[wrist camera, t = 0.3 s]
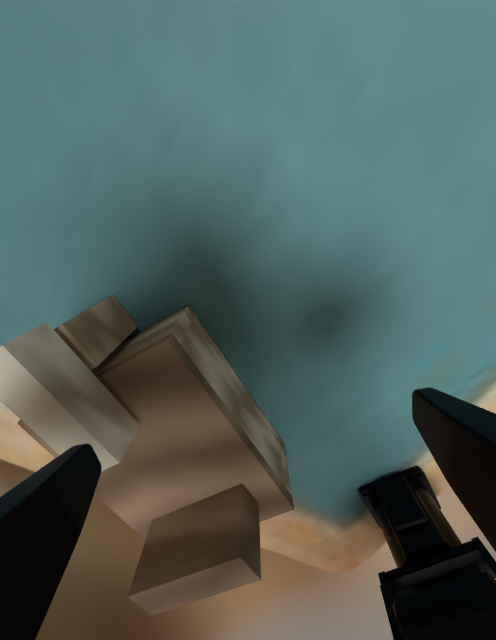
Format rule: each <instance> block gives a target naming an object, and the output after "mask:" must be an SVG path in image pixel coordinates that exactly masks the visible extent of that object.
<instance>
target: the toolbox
mask: <svg viewBox="0 0 496 640" xmlns="http://www.w3.org/2000/svg"><path fill="white" fill-rule="evenodd" d="M137 327H138V326H137V324H136V323H135V322H134V321H133V319H132V318H131V317H130V316H129V314H128V313H127V312H126V310H125V309H124V308H123V307H122V305H121V304H120V303H119V301H118V300H117V299H116V298H115V296H114V295H112V296H111V297H109V298H107V299H105V300H104V301H102V302H100V303H98V304H97V305H95V306H93V307H91V308H90V309H88V310H86V311H84V312H83V313H81V314H79V315H77V316H76V317H74V318H72V319H70V320H69V321H67V322H65V323H63V324H62V325H60V326H59V327H57V328H55V329H54V331H55V332H56V333H57V334H58V335H59V336H60V337H61V338H62V340H63V341H64V342H65V343H66V344H67V345H68V346H69V347H70V348H71V350H72V351H73V352H74V353H75V354H76V355H77V356H78V357H79V358H80V360H81V361H82V362H83V363H84V364H85V365H86V366H87V367H88V368H89V369H90V371H91V372H92V373H93V374H94V375H97V374H99V373H101V372H103V371H104V370H106V369H108V368H110V367H112V366H113V365H115V364H117V363H119V362H120V361H122V360H124V359H126V358H128V357H129V356H131V355H133V354H135V353H137V352H138V351H140V350H142V349H144V348H145V347H147V346H149V345H151V344H153V343H154V342H156V341H158V340H160V339H162V338H163V337H165V336H167V335H169V334H171V333H173V335H174V336H175V337H176V339H177V340H178V342H179V343H180V344H181V346H182V347H183V348H184V350H185V351H186V352H187V354H188V355H189V357H190V358H191V359H192V361H193V362H194V363H195V365H196V366H197V367H198V369H199V370H200V371H201V373H202V374H203V376H204V377H205V378H206V380H207V381H208V382H209V384H210V385H211V386H212V388H213V389H214V391H215V392H216V393H217V395H218V396H219V397H220V399H221V400H222V401H223V403H224V404H225V405H226V407H227V408H228V410H229V411H230V412H231V414H232V415H233V416H234V418H235V419H236V420H237V422H238V423H239V425H240V426H241V427H242V429H243V430H244V431H245V433H246V434H247V435H248V437H249V438H250V439H251V441H252V442H253V444H254V445H255V446H256V448H257V449H258V450H259V452H260V453H261V454H262V456H263V457H264V459H265V460H266V461H267V463H268V464H269V465H270V467H271V468H272V469H273V471H274V472H275V473H276V475H277V476H278V478H279V479H280V480H281V482H282V483H283V484H284V486H285V487H286V488H287V490H288V491H289V493H290V494H291V487H290V480H289V473H288V466H287V460H286V453H285V446H284V443H283V442H282V440H281V439H280V437H279V436H278V434H277V433H276V431H275V430H274V428H273V427H272V426H271V424H270V423H269V421H268V420H267V418H266V417H265V415H264V414H263V412H262V411H261V410H260V408H259V407H258V405H257V404H256V402H255V401H254V399H253V398H252V397H251V395H250V394H249V392H248V391H247V389H246V388H245V386H244V385H243V383H242V382H241V381H240V379H239V378H238V376H237V375H236V373H235V372H234V370H233V369H232V367H231V366H230V365H229V363H228V362H227V360H226V359H225V357H224V356H223V354H222V353H221V352H220V350H219V349H218V347H217V346H216V344H215V343H214V341H213V340H212V338H211V337H210V336H209V334H208V333H207V331H206V330H205V328H204V327H203V325H202V324H201V323H200V321H199V320H198V318H197V317H196V315H195V314H194V312H193V311H192V309H191V308H190V307H189V305H187V306H185V307H183V308H182V309H180V310H178V311H176V312H175V313H173V314H171V315H170V316H168V317H166V318H164V319H163V320H161V321H159V322H157V323H156V324H154V325H152V326H151V327H149V328H147V329H145V330H144V331H142V332H140V333H138V334H137V335H135V336H133V337H132V338H130V339H128V340H126V341H125V342H123V341H124V340H125V339H126V338H127V337H128V336H129V335H130V334H131V333H132V332H133V331H134V330H135V329H136V328H137ZM122 342H123V343H122ZM291 495H292V494H291Z"/></svg>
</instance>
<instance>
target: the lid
mask: <svg viewBox="0 0 496 640" xmlns="http://www.w3.org/2000/svg"><path fill="white" fill-rule="evenodd" d="M95 376H96V377H97V378H98V379H99V381H100V382H101V383H102V384H103V385H104V386H105V387H106V388H107V389H108V391H109V392H110V393H111V394H112V395H113V396H114V397H115V398H116V399H117V401H118V402H119V403H120V404H121V405H122V406H123V407H124V408H125V409H126V411H127V412H128V413H129V414H130V415H131V416H132V417H133V418H134V419H135V420H136V422H137V423H138V424H139V427H138V429H137V431H136V433H135V435H134V437H133V439H132V440H131V442H130V444H129V446H128V448H127V450H126V452H125V454H124V456H123V457H122V459H121V461H120V463H118V464H116V465H114V466H112V467H110V468H108V469H106V470H104V471H102V472H101V475H100V478H99V481H98V484H97V487H96V490H95V493H94V494H95V495H96V496H97V497H98V498H100V499H101V500H102V501H103V502H104V503H105V504H106V505H107V506H108V507H109V508H111V509H112V510H113V511H114V512H115V513H116V514H117V515H118V516H119V517H120V518H121V519H123V520H124V521H125V522H126V523H127V524H128V525H129V526H130V527H131V528H132V529H134V530H135V531H136V532H137V533H138V534H139V535H140V536H141V537H142V538H143V539H144V540H145V544H144V547H143V550H142V554H141V557H140V560H139V563H138V566H137V569H136V572H135V576H134V578H133V581H132V585H131V587H130V591H129V594H128V597H129V598H130V599H131V600H132V601H134V602H135V603H136V604H138V605H139V606H140V607H141V608H143V609H144V610H145V611H146V612H148V613H149V614H150V615H154V614H157V613H160V612H163V611H166V610H170V609H173V608H176V607H178V606H182V605H185V604H188V603H191V602H194V601H197V600H200V599H203V598H206V597H209V596H213V595H216V594H219V593H222V592H225V591H228V590H231V589H234V588H237V587H240V586H243V585H246V584H249V583H252V582H255V581H259V580H261V564H260V528H259V522H261V521H263V520H266V519H269V518H271V517H274V516H277V515H280V514H282V513H285V512H288V511H290V510H293V509H294V505H293V498H292V495H291V494H290V493H289V491H288V490H287V488H286V487H285V486H284V484H283V483H282V482H281V480H280V479H279V478H278V476H277V475H276V473H275V472H274V471H273V469H272V468H271V467H270V465H269V464H268V463H267V461H266V460H265V459H264V457H263V456H262V454H261V453H260V452H259V450H258V449H257V448H256V446H255V445H254V444H253V442H252V441H251V439H250V438H249V437H248V435H247V434H246V433H245V431H244V430H243V429H242V427H241V426H240V425H239V423H238V422H237V420H236V419H235V418H234V416H233V415H232V414H231V412H230V411H229V410H228V408H227V407H226V405H225V404H224V403H223V401H222V400H221V399H220V397H219V396H218V395H217V393H216V392H215V391H214V389H213V388H212V386H211V385H210V384H209V382H208V381H207V380H206V378H205V377H204V376H203V374H202V373H201V371H200V370H199V369H198V367H197V366H196V365H195V363H194V362H193V361H192V359H191V358H190V357H189V355H188V354H187V352H186V351H185V350H184V348H183V347H182V346H181V344H180V343H179V342H178V340H177V339H176V337H175V336H174V335H173V333H171V334H169V335H167V336H165V337H163V338H162V339H160V340H158V341H156V342H154V343H153V344H151V345H149V346H147V347H145V348H144V349H142V350H140V351H138V352H137V353H135V354H133V355H131V356H129V357H128V358H126V359H124V360H122V361H120V362H119V363H117V364H115V365H113V366H112V367H110V368H108V369H106V370H104V371H103V372H101V373H99V374H97V375H95ZM18 424H19V425H20V426H21V427H22V428H23V429H24V430H25V431H26V432H27V433H28V434H30V435H31V436H32V437H33V438H34V439H35V440H36V441H37V442H38V443H39V444H40V445H42V446H43V447H44V448H45V449H46V450H47V451H48V452H49V453H50V454H51V455H53V456H54V457H55V458H57V457H58V456H59V454H58V453H57V452H56V451H55V450H53V449H52V448H51V447H50V446H49V445H48V444H47V443H46V442H45V441H44V440H43V439H42V438H40V437H39V436H38V435H37V434H36V433H35V432H34V431H33V430H32V429H31V428H30V427H29V426H27V425H26V424H25V423H24V422H23V421H22V420H20V421H19V422H18Z"/></svg>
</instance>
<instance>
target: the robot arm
mask: <svg viewBox="0 0 496 640" xmlns="http://www.w3.org/2000/svg"><path fill="white" fill-rule="evenodd" d="M412 415H413V420H414V423H415V425H416V427H417V429H418V431H419V432H420V434H421V436H422V438H423V439H424V441H425V443H426V445H427V447H428V448H429V450H430V452H431V454H432V455H433V457H434V459H435V461H436V463H437V464H438V466H439V468H440V470H441V471H442V473H443V475H444V477H445V478H446V480H447V482H448V483H449V485H450V486H451V488H452V489H453V491H454V492H455V494H456V495H457V497H458V498H459V500H460V501H461V503H462V504H463V505H464V507H465V508H466V510H467V511H468V513H469V514H470V516H471V517H472V518H473V520H474V521H475V523H476V524H477V526H478V527H479V528H480V530H481V531H482V533H483V534H484V536H485V537H486V539H487V540H488V541H489V542H490V544H491V546H492V547H493V548H494V550H495V551H496V414H495V413H492V412H490V411H488V410H485V409H483V408H480V407H478V406H475V405H473V404H470V403H468V402H465V401H463V400H461V399H458V398H456V397H453V396H451V395H448V394H446V393H443V392H441V391H438V390H436V389H433V388H422V389H416V390H414V391H413V394H412ZM101 470H102V466H101V463H100V461H99V459H98V457H97V455H96V453H95V451H94V449H93V448H92V446H91V445H90V444H79V445H75V446H72V447H71V448H69V449H68V450H66V451H65V452H64V453H62V454H61V455H59V456H58V457H57V458H55V459H54V460H52V461H51V462H49V463H48V464H47V465H45V466H44V467H42V468H41V469H40V470H38V471H37V472H35V473H34V474H33V475H31V476H30V477H28V478H27V479H25V480H24V481H23V482H21V483H20V484H18V485H17V486H16V487H14V488H13V489H11V490H10V491H8V492H7V493H6V494H4V495H3V496H1V497H0V640H36V637H37V635H38V633H39V630H40V628H41V626H42V623H43V621H44V619H45V616H46V614H47V612H48V609H49V607H50V604H51V602H52V599H53V598H54V595H55V593H56V590H57V588H58V586H59V583H60V581H61V579H62V576H63V574H64V572H65V569H66V567H67V565H68V562H69V560H70V558H71V555H72V553H73V551H74V548H75V546H76V543H77V541H78V538H79V536H80V534H81V531H82V528H83V525H84V522H85V519H86V517H87V514H88V510H89V508H90V504H91V502H92V499H93V496H94V493H95V490H96V487H97V484H98V481H99V478H100V475H101ZM359 494H360V496H361V498H362V499H363V501H364V503H365V504H366V506H367V507H368V509H369V511H370V512H371V514H372V516H373V517H374V519H375V521H376V522H377V524H378V525H379V527H380V528H381V529H382V531H383V534H384V536H385V538H386V541H387V543H388V546H389V548H390V550H391V553H392V555H393V558H394V560H395V562H396V565H397V567H398V568H396V569H393V570H390V571H388V572H384V571H383V572H381V573H379V574H378V575H379V579H380V583H381V585H380V588H381V591H382V595H383V599H384V603H385V607H386V611H387V615H388V618H389V622H390V626H391V630H392V634H393V639H394V640H496V580H495V578H496V562H495V560H494V559H493V557H492V556H491V555H490V553H489V552H488V550H487V549H486V548H485V546H484V545H483V543H482V542H481V541H480V539H479V538H478V537H476V538H473V539H471V540H472V541H469V542H466V543H464V544H462V543H461V541H460V540H459V538H458V537H457V535H456V534H455V532H454V531H453V529H452V527H451V526H450V524H449V523H448V521H447V520H446V518H445V517H444V515H443V514H442V512H441V510H440V509H441V507H440V505H439V503H438V501H437V498H436V496H435V494H434V492H433V490H432V488H431V486H430V484H429V482H428V480H427V478H426V475H425V473H424V472H423V470H422V469H421V468H419V467H417V468H414V469H411V470H408V471H405V472H403V473H400V474H397V475H395V476H392V477H389V478H387V479H384V480H381V481H378V482H376V483H373V484H370V485H368V486H365V487H362V488H360V489H359Z"/></svg>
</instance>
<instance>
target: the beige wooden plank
mask: <svg viewBox="0 0 496 640" xmlns="http://www.w3.org/2000/svg"><path fill="white" fill-rule="evenodd" d="M0 401H1V402H2V403H4V404H5V405H6V406H7V407H8V408H9V409H10V410H11V411H12V412H13V413H14V414H15V415H17V416H18V417H19V418H20V419H21V420H22V421H23V422H24V423H25V424H26V425H27V426H29V427H30V428H31V429H32V430H33V431H34V432H35V433H36V434H37V435H38V436H39V437H40V438H42V439H43V440H44V441H45V442H46V443H47V444H48V445H49V446H50V447H51V448H52V449H53V450H55V451H56V452H57V453H58V454H59V455H61V454H62V453H64V452H65V451H66V450H68V449H69V448H71V447H72V446H75V445H79V444H90V445H91V446H92V448H93V449H94V451H95V453H96V455H97V457H98V459H99V461H100V463H101V466H102V470H101V472H102V471H104V470H106V469H108V468H110V467H112V466H114V465H116V464H118V463H120V461H121V459H122V457H123V456H124V454H125V452H126V450H127V448H128V446H129V444H130V442H131V440H132V439H133V437H134V435H135V433H136V431H137V429H138V427H139V424H138V423H137V422H136V420H135V419H134V418H133V417H132V416H131V415H130V414H129V413H128V412H127V411H126V409H125V408H124V407H123V406H122V405H121V404H120V403H119V402H118V401H117V399H116V398H115V397H114V396H113V395H112V394H111V393H110V392H109V391H108V389H107V388H106V387H105V386H104V385H103V384H102V383H101V382H100V381H99V379H98V378H97V377H96V376H95V375H94V374H93V373H92V372H91V371H90V369H89V368H88V367H87V366H86V365H85V364H84V363H83V362H82V361H81V360H80V358H79V357H78V356H77V355H76V354H75V353H74V352H73V351H72V350H71V348H70V347H69V346H68V345H67V344H66V343H65V342H64V341H63V340H62V338H61V337H60V336H59V335H58V334H57V333H56V332H55V331H54V330H53V328H52V327H51V326H50V325H49V324H48V323H45V324H43V325H41V326H39V327H37V328H35V329H33V330H31V331H29V332H27V333H25V334H23V335H22V336H20V337H18V338H16V339H14V340H12V341H10V342H8V343H6V344H4V345H2V346H1V347H0Z"/></svg>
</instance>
